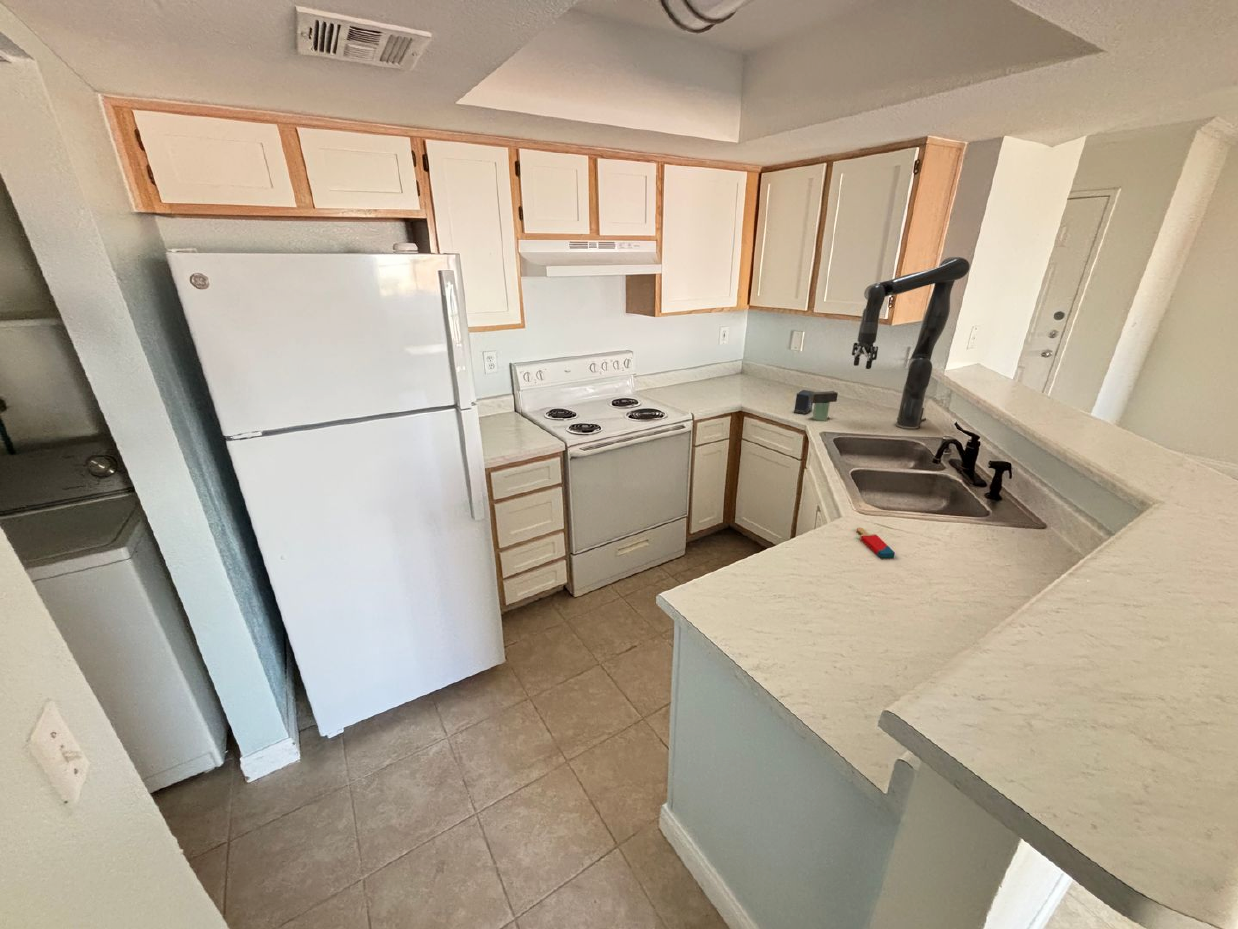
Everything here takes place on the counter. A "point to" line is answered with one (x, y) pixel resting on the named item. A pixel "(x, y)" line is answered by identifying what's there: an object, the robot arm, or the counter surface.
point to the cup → (821, 411)
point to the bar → (823, 397)
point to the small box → (803, 402)
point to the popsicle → (876, 544)
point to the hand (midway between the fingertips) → (861, 367)
